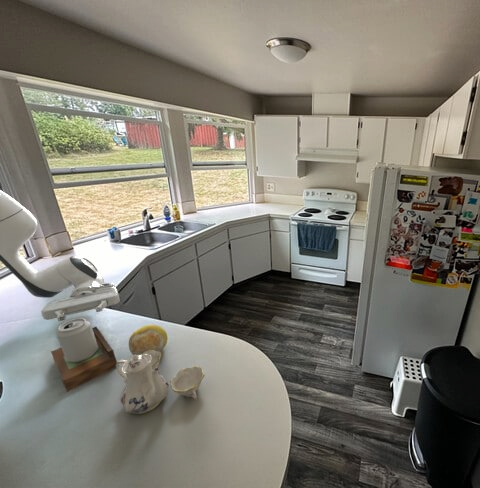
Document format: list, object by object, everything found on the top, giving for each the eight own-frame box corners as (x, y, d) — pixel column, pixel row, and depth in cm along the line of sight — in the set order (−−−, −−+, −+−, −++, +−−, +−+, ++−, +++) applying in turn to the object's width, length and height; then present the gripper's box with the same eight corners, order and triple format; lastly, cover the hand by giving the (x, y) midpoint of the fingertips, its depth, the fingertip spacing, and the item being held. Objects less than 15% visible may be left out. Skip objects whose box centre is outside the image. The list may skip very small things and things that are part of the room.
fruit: (130, 351, 87) (124, 328, 84) (166, 338, 94) (161, 315, 90) (134, 369, 80) (127, 344, 77) (172, 353, 87) (167, 330, 83)
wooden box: (67, 391, 72) (59, 374, 70) (54, 361, 82) (47, 345, 80) (118, 365, 81) (112, 349, 79) (101, 341, 91) (96, 326, 89)
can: (75, 348, 82) (64, 318, 78) (103, 344, 84) (93, 314, 80) (61, 366, 75) (47, 334, 71) (91, 361, 77) (80, 329, 73)
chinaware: (216, 385, 77) (214, 338, 73) (171, 436, 62) (165, 380, 58) (145, 364, 84) (140, 320, 80) (88, 404, 68) (78, 352, 64)
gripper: (44, 296, 88) (32, 316, 78) (118, 281, 99) (115, 297, 89) (50, 311, 90) (39, 333, 80) (122, 295, 102) (120, 312, 91)
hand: (80, 314), depth 84 cm, fingers open, 8 cm apart
